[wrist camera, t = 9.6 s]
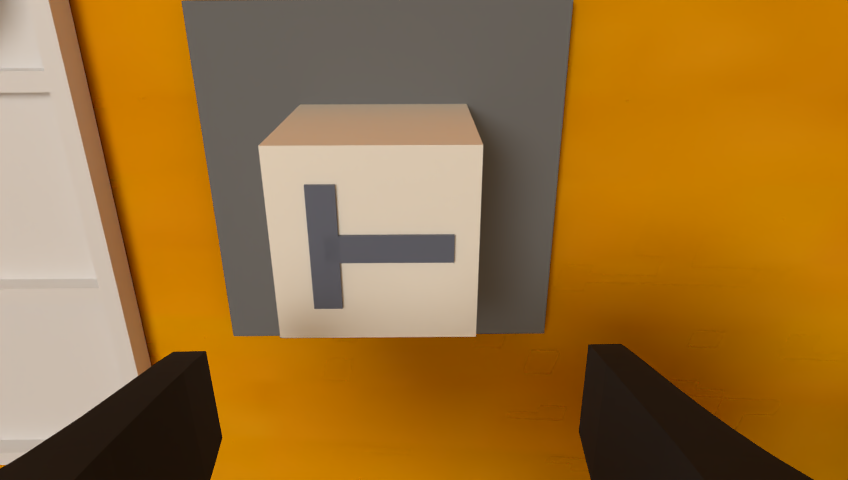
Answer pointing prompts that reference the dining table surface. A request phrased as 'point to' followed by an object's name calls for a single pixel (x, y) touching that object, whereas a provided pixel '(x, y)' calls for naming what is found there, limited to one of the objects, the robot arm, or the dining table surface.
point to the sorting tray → (56, 238)
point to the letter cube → (374, 220)
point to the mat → (388, 84)
